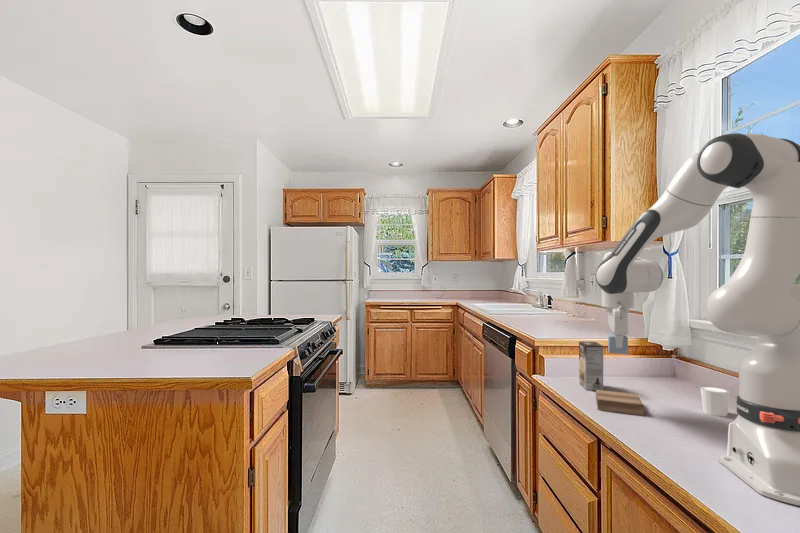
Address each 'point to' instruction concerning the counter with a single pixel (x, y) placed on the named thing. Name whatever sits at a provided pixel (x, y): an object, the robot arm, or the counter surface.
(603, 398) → the walnut plinth
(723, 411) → the white cup
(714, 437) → the counter surface
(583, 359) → the coffee box
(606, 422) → the counter surface
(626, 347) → the slate block
